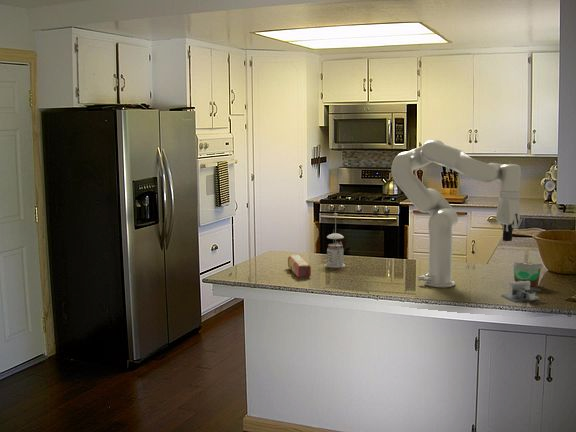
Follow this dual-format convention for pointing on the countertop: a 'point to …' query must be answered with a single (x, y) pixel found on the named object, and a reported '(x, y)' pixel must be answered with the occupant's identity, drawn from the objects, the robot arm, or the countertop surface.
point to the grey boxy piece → (523, 289)
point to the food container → (527, 273)
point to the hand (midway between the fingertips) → (507, 240)
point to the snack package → (299, 266)
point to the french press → (335, 250)
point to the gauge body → (518, 297)
